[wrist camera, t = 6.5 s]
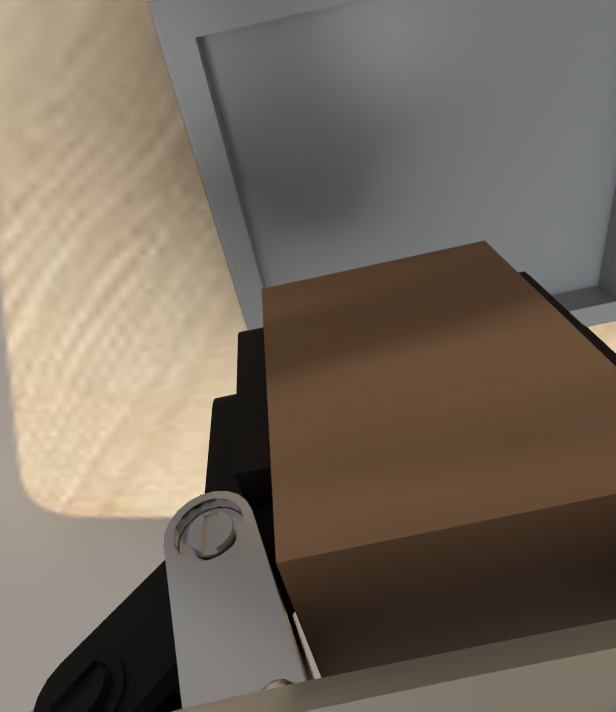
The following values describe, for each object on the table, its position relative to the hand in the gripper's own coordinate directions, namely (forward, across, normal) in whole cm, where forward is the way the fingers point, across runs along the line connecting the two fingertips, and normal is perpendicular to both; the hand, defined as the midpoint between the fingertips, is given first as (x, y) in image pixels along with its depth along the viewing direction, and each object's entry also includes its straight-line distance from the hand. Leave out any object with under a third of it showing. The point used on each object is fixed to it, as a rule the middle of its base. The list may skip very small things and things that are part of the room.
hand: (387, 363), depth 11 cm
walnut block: (0, 0, 0) cm, 0 cm away
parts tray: (+10, -4, 0) cm, 11 cm away
